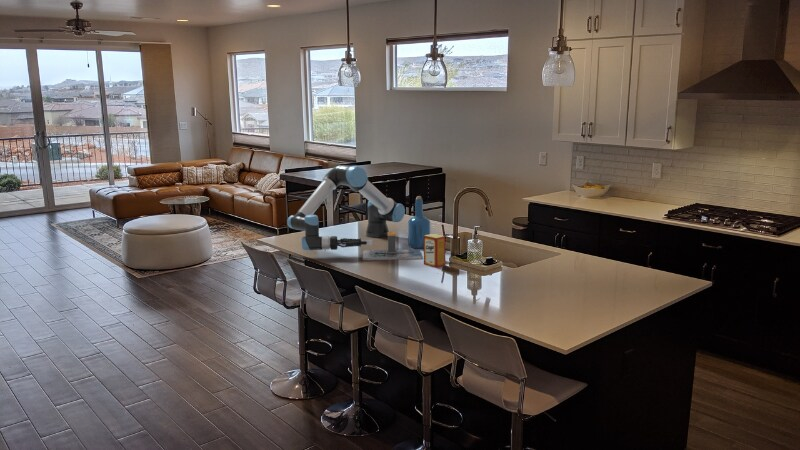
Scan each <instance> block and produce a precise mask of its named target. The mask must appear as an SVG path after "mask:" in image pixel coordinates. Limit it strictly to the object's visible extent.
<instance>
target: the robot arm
mask: <svg viewBox="0 0 800 450" xmlns="http://www.w3.org/2000/svg"><path fill="white" fill-rule="evenodd" d="M339 186H347V187H349V188H350V189H351V190H352V191H353V192H359V193H360V194H361V195H362V196H363V197H364V198H365V199H366V200H367V226H366V229H365V236H366V237H370V238H384V237H388V232H390V230H389V227H388V224H387V222H392V223H399V222H401V221H402V220H403V219H404V217H405V213H406V209H405V208H406V207H405V206H404V205H403V204H402V203H398V202H396V201H395V200H394V199H393V198H391V197H387V196H386V195H385V194H383V193H382V191H380V190H379V189H378V188H377V187H376V186H375V185H374V184H372V183H371V181H369V177H368V175H367V171H366V170H365V169H364V168H363V167H362V166H358V165H348V164H347V165H346V164H339V165H337V166H334V167H333V168H332V169H330V170H329V171H328V172H327V173H326V174H325V175H324V177H323V178H322V179H321V183H320V184H319V185H318V186H317V188H315V190H314V191H313V193H311V195H310V196H309V197H308V199H307V200H306V201H305V202H304V204H303V205H302V206H301V207H300V208H299V209H298V210H297V212H296V214H294V215H293V214H291V215H290V216H289V217H287V220H286V224H287V226H288V227H289V228H290V229H293V230H297V231H302V232H304V235H305V236H302V238H301V249H302V250H303V251H324V252H326V251H329V250H331V251H333V250H334V251H335V250H336V251H337V250H338V247H340V248H343V249H344V248H350V247H360V248H361V247H362V246H373V245H374V243H373V242H374V240H373V239H362V238H346V237H343V238H340V239H338V236H336V235H335V236H334V235H331V236H328V235H325V236H324V235H323V236H320V227H319V226H320V225H319V224H320V223H319V222H320V221H319V217H318V215H316V214H315V212H316V211H317V209H319V207H321V204H323V202H324V201H326V199H327V198H328V196H329V195H330V194H331V193H332V191H333V190H334V191H335V190H336V189H337V188H338V187H339Z"/></svg>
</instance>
